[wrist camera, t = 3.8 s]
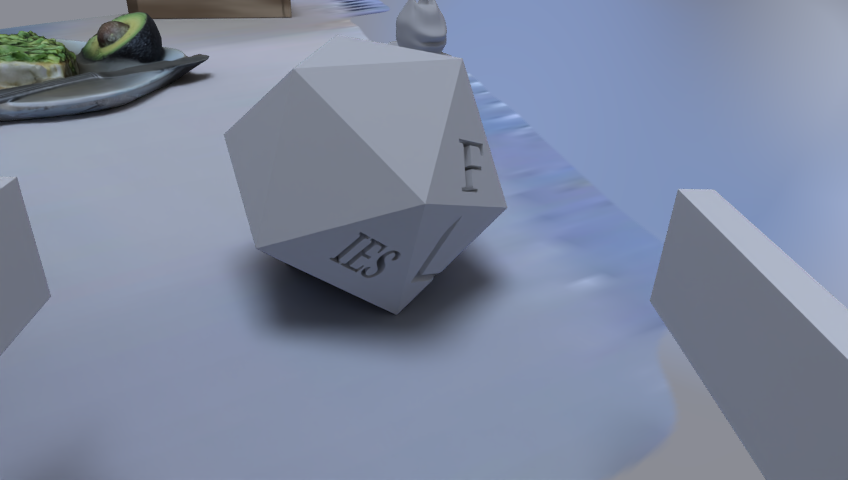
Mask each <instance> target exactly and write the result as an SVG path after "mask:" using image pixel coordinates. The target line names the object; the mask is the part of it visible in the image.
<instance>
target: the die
mask: <svg viewBox="0 0 848 480" xmlns="http://www.w3.org/2000/svg"><path fill="white" fill-rule="evenodd" d="M224 137H225V141H226V144H227V148H228V151H229V155H230V158H231V162H232V165H233V169H234V172H235V176H236V179H237V183H238V187H239V190H240V194H241V197H242V201H243V204H244V208H245V211H246V215H247V218H248V222H249V225H250V229H251V233H252V236H253V240H254V243H255V247H256V249H258V250H260V251H262V252H264V253H266V254H268V255H270V256H272V257H274V258H276V259H278V260H280V261H282V262H284V263H286V264H289V265H291V266H293V267H295V268H297V269H299V270H301V271H304V272H306V273H308V274H310V275H312V276H314V277H316V278H318V279H321V280H323V281H325V282H327V283H329V284H331V285H333V286H336V287H338V288H340V289H342V290H344V291H346V292H348V293H351V294H353V295H355V296H357V297H359V298H361V299H363V300H366V301H368V302H370V303H372V304H374V305H376V306H378V307H381V308H383V309H385V310H387V311H389V312H391V313H393V314H396V315H397V314H398V313H399V312H400V311H401V310H402V309H403V308H404V307H405V306H407V305H408V304H409V303H410V302H411V301H412V300H413V299H414V298H415V297H416V296H417V295H418V294H419V293H420V292H421V291H422V290H423V289H424V288H425V287H426V286H427V285H428V284H429V283H430V282H431V281H432V280H433V277H434V275H436V274H438V273H441V272H442V271H443V270H444V269H445V268H446V267H447V266H448V265H449V264H450V263H451V262H452V261H453V260H454V259H455V258H456V257H457V256H458V255H459V254H460V253H461V252H462V251H463V250H464V249H465V248H466V247H467V246H468V245H469V244H470V243H471V242H472V241H474V240H475V239H476V238H477V237H478V236H479V235H480V234H481V233H482V232H483V231H484V230H485V229H486V228H487V227H488V226H489V225H490V224H491V223H492V222H493V221H494V220H495V219H496V218H497V217H498V216H499V215H500V214H501V213H502V212H503V211H504V210H505V209H506V208H507V205H506V201H505V198H504V195H503V191H502V188H501V185H500V181H499V178H498V175H497V171H496V168H495V165H494V162H493V158H492V155H491V152H490V148H489V145H488V142H487V138H486V135H485V132H484V128H483V125H482V122H481V118H480V115H479V112H478V108H477V105H476V102H475V98H474V95H473V92H472V89H471V85H470V82H469V79H468V75H467V72H466V69H465V65H464V62H463V59H462V58H456V57H451V56H446V55H441V54H436V53H431V52H425V51H420V50H415V49H410V48H404V47H399V46H394V45H389V44H384V43H378V42H373V41H368V40H363V39H358V38H352V37H347V36H342V35H336V36H334V37H333V38H332V39H331V40H329V41H328V42H327V43H325V44H324V45H323V46H322V47H320V48H319V49H318V50H316V51H315V52H314V53H313V54H311V55H310V56H309V57H308V58H306V59H305V60H304V61H302V62H301V63H300V64H299V65H297V66H296V67H295V68H293V69H292V70H291V71H290V72H289V73H288V74H287V75H286V76H285V77H284V78H283V79H282V80H281V81H280V82H279V83H278V84H277V85H276V86H274V87H273V88H272V89H271V90H270V91H269V92H268V93H267V94H266V95H265V96H264V97H263V98H262V99H261V100H260V101H259V102H258V103H257V104H256V105H254V106H253V107H252V108H251V109H250V110H249V111H248V112H247V113H246V114H245V115H244V116H243V117H242V118H241V119H240V120H239V121H238V122H237V123H235V124H234V125H233V126H232V127H231V128H230V129H229V130H228V131H227V132H226V133H225V134H224Z"/></svg>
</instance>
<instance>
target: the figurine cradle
mask: <svg viewBox="0 0 848 480" xmlns="http://www.w3.org/2000/svg"><path fill="white" fill-rule="evenodd" d="M127 6H128V12H129V14H130V13H136V12H143V13H147V14H148V15H149V16H150V17H151V18H152V19H156V18H262V17H291V2H290V0H127Z"/></svg>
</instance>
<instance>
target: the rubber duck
mask: <svg viewBox="0 0 848 480" xmlns="http://www.w3.org/2000/svg"><path fill="white" fill-rule="evenodd" d="M446 29H447V28H446V22H445V19H444V17H443V15H442V13H441V11H440V10H439V8H438V6H437V3H436V1H435V0H429V1H428V0H419V2H418V3H416V1H415V0H408V2H407V3H406V4H405V6H404V8H403V9H402V10H401V12H400V13H399V15H398V17H397V20H396V40H397V41H393V42H390V43H388V44H389V45H394V46H399V47H404V48H410V49H415V50H420V51H425V52H431V53H436V54H441V55H446V56H451V55H448V54H446V53H443V52H442V50H443V48H444V47H445V45H446V33H447V30H446ZM451 57H452V56H451Z"/></svg>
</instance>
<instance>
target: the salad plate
mask: <svg viewBox="0 0 848 480" xmlns="http://www.w3.org/2000/svg"><path fill="white" fill-rule="evenodd" d="M208 58H209V56H207V55H202V54H198V55H194V56H192V57H187V56H186V55H185V54H184V53H183V52H181V51H180V50H177V49H172V48H167V47H162V40H161V36H160V33H159V31H158V28H157V26H156V24H155V22H154V21H153V19H152V18H151V17H150V16H149V15H148V14H147V13H143V12H136V13H130V14H126V15H122V16H120V17H118V18H115V19H114V20H112V21H110V22H107V23H104V24H103V25H101V27H100V28H99V30H98V33H97V34H95V35H94V36H93V37H92V38H91V39H89V41H88V42H82V41H73V40H61V39H46V38H45V37H44V36H38V35H37V34H36V33H33V32H32V31H29V32H24V31H19V33H18V34H11V35H7V34H0V121H9V120H22V119H32V118H43V117H54V116H63V115H72V114H79V113H86V112H93V111H99V110H105V109H110V108H114V107H118V106H121V105H124V104H127V103H129V102H131V101H133V100H135V99H137V98H139V97H142V96H144V95H146V94H148V93H150V92H153V91H155V90H157V89H160V88H162V87H164V86H166V85H168V84H170V83H172V82H174V81H176V80H177V79H179V78H180V77H181V76H183V75H184V74H186V73H187V72H189V71H190V70H192V69H193V68H195V67H196V66H198V65H199V64H201V63H203V62H204V61H206V60H207V59H208Z"/></svg>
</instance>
